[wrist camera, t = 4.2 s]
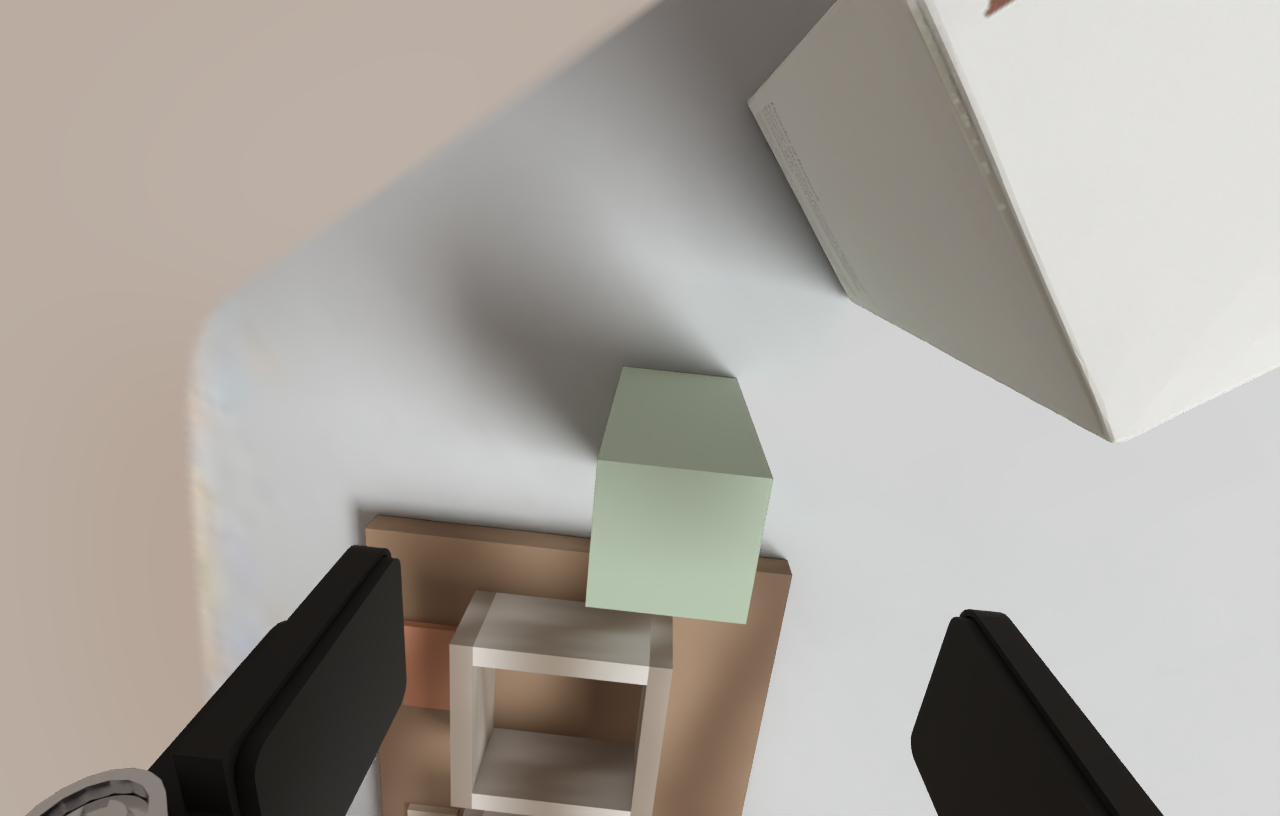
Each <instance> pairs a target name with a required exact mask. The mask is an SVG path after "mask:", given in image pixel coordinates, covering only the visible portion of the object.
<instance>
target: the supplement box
mask: <svg viewBox="0 0 1280 816" xmlns="http://www.w3.org/2000/svg"><path fill="white" fill-rule="evenodd" d="M748 106H749V108H750V110H751V112H752V114H753V115H754V117H755V119H756V121H757V123H758V125H759V127H760V129H761V131H762V133H763V135H764V137H765V139H766V141H767V142H768V144H769V146H770V148H771V150H772V152H773V154H774V155H775V157H776V159H777V161H778V163H779V165H780V167H781V169H782V171H783V172H784V174H785V177H786V179H787V181H788V183H789V185H790V186H791V188H792V190H793V192H794V194H795V196H796V198H797V200H798V201H799V203H800V205H801V207H802V209H803V211H804V213H805V215H806V217H807V219H808V221H809V223H810V225H811V227H812V229H813V231H814V233H815V234H816V236H817V238H818V240H819V242H820V244H821V246H822V248H823V250H824V252H825V254H826V256H827V258H828V260H829V262H830V263H831V265H832V267H833V269H834V271H835V273H836V275H837V277H838V279H839V281H840V283H841V284H842V286H843V288H844V290H845V292H846V293H847V295H848V297H849V299H850V300H851V301H852V302H853V303H855V304H857V305H859V306H861V307H863V308H865V309H867V310H869V311H870V312H872V313H873V314H875V315H877V316H879V317H881V318H883V319H884V320H886V321H888V322H890V323H892V324H894V325H896V326H898V327H900V328H901V329H903V330H905V331H907V332H909V333H910V334H912V335H914V336H916V337H918V338H919V339H921V340H923V341H925V342H927V343H929V344H931V345H932V346H934V347H936V348H938V349H939V350H941V351H943V352H945V353H947V354H948V355H950V356H952V357H954V358H955V359H957V360H959V361H961V362H963V363H965V364H967V365H969V366H970V367H972V368H974V369H976V370H978V371H980V372H982V373H984V374H985V375H987V376H989V377H991V378H993V379H995V380H996V381H998V382H1000V383H1002V384H1004V385H1006V386H1008V387H1010V388H1011V389H1013V390H1015V391H1017V392H1019V393H1021V394H1023V395H1025V396H1026V397H1028V398H1030V399H1031V400H1033V401H1035V402H1037V403H1039V404H1041V405H1043V406H1044V407H1046V408H1048V409H1050V410H1052V411H1054V412H1055V413H1057V414H1059V415H1061V416H1063V417H1065V418H1067V419H1068V420H1070V421H1072V422H1073V423H1075V424H1077V425H1079V426H1081V427H1083V428H1084V429H1086V430H1088V431H1090V432H1092V433H1094V434H1096V435H1098V436H1100V437H1101V438H1103V439H1105V440H1107V441H1109V442H1111V443H1115V444H1120V443H1123V442H1125V441H1127V440H1130V439H1132V438H1134V437H1136V436H1138V435H1140V434H1142V433H1144V432H1146V431H1148V430H1150V429H1152V428H1154V427H1156V426H1158V425H1160V424H1162V423H1164V422H1167V421H1169V420H1171V419H1173V418H1175V417H1177V416H1179V415H1181V414H1183V413H1185V412H1187V411H1189V410H1191V409H1193V408H1195V407H1197V406H1199V405H1201V404H1203V403H1205V402H1207V401H1209V400H1211V399H1214V398H1216V397H1218V396H1220V395H1222V394H1224V393H1226V392H1228V391H1230V390H1232V389H1234V388H1236V387H1238V386H1240V385H1242V384H1244V383H1246V382H1248V381H1250V380H1253V379H1255V378H1257V377H1259V376H1261V375H1263V374H1265V373H1267V372H1269V371H1271V370H1273V369H1275V368H1277V367H1279V366H1280V0H837V1H836V2H835V3H834V4H833V5H832V6H831V8H830V9H829V10H828V11H827V12H826V13H825V14H824V16H823V17H822V18H821V19H820V20H819V21H818V22H817V24H816V25H815V26H814V27H813V28H812V29H811V30H810V31H809V32H808V34H807V35H806V36H805V37H804V38H803V40H802V41H801V42H800V43H799V44H798V45H797V46H796V47H795V48H794V50H793V51H792V52H791V53H790V54H789V55H788V56H787V57H786V59H785V60H784V61H783V62H782V63H781V64H780V65H779V67H778V68H777V69H776V70H775V71H774V72H773V73H772V75H771V76H770V77H769V78H768V79H767V80H766V81H765V82H764V84H763V85H762V86H761V87H760V88H759V89H758V90H757V91H756V93H755V94H754V95H753V96H752V97H751V98H750V99H749V100H748Z"/></svg>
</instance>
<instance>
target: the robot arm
mask: <svg viewBox="0 0 1280 816" xmlns="http://www.w3.org/2000/svg"><path fill="white" fill-rule="evenodd" d="M406 684H407V675H406V656H405V636H404V617H403V597H402V578H401V564H400V560H399V559H397V558H392V557H391V553H390V551H389V550H388V549H387V548H379V547H369V546H359V545H353V546H351V547H350V548H349V549H348V550H347V551H346V552H345V553H344V554H343V555H342V557H341V558H340V559H339V560H338V561H337V562H336V564H335V565H334V566H333V567H332V568H331V569H330V571H329V572H328V573H327V574H326V575H325V576H324V578H323V579H322V580H321V581H320V582H319V583H318V585H317V586H316V587H315V588H314V589H313V590H312V592H311V593H310V594H309V595H308V596H307V597H306V599H305V600H304V601H303V602H302V603H301V604H300V606H299V607H298V608H297V609H296V610H295V611H294V613H293V614H292V615H291V616H290V617H289V618H288V620H287V621H283V622H280V623H278V624H277V625H276V626H275V627H273V628H272V629H271V630H270V631H269V632H268V633H267V635H266V636H265V637H264V638H263V639H262V640H261V641H260V643H259V644H258V645H257V646H256V647H255V648H254V649H253V651H252V652H251V653H250V654H249V655H248V656H247V657H246V659H245V660H244V661H243V662H242V663H241V664H240V665H239V667H238V668H237V669H236V670H235V671H234V672H233V673H232V675H231V676H230V677H229V678H228V679H227V680H226V681H225V683H224V684H223V685H222V686H221V687H220V688H219V689H218V691H217V692H216V693H215V694H214V695H213V696H212V697H211V699H210V700H209V701H208V702H207V703H206V704H205V705H204V707H203V708H202V709H201V710H200V711H199V712H198V714H197V715H196V716H195V717H194V718H193V719H192V720H191V721H190V723H189V724H188V725H187V726H186V727H185V728H184V729H183V731H182V732H181V733H180V734H179V735H178V737H176V739H175V740H174V741H173V742H172V743H171V744H170V746H169V747H168V748H167V749H166V750H165V751H164V752H163V754H162V755H161V756H160V757H159V758H158V759H157V760H156V762H155V763H154V764H153V765H152V766H151V767H150V768H149V770H148V771H146V770H141V769H136V768H127V769H115V770H109V771H106V772H102V773H99V774H96V775H92V776H89V777H86V778H84V779H82V780H80V781H77V782H76V783H73V784H71V785H69V786H67V787H65V788H63V789H61V790H59V791H58V792H56V793H55V794H54V795H52V796H50V797H49V798H48V799H46V800H44V801H43V802H41V803H40V804H38V805H37V806H36V807H35V808H34V809H32V810H31V811H30V812H29V813H28V814H27V815H26V816H345V815H346V813H347V811H348V809H349V807H350V805H351V803H352V801H353V799H354V797H355V795H356V793H357V791H358V789H359V787H360V785H361V783H362V781H363V779H364V777H365V775H366V773H367V771H368V769H369V767H370V766H371V764H372V762H373V760H374V758H375V756H376V754H377V752H378V750H379V748H380V746H381V744H382V742H383V740H384V738H385V736H386V734H387V732H388V730H389V728H390V726H391V724H392V722H393V720H394V718H395V716H396V714H397V712H398V710H399V708H400V706H401V703H402V701H403V698H404V695H405V691H406ZM911 749H912V754H913V757H914V760H915V763H916V765H917V767H918V770H919V772H920V774H921V777H922V779H923V781H924V784H925V786H926V788H927V791H928V793H929V795H930V798H931V800H932V802H933V805H934V807H935V809H936V812H937V814H938V816H1163V814H1162V813H1161V812H1160V811H1159V809H1158V808H1157V807H1156V805H1155V804H1154V803H1153V802H1152V800H1151V799H1150V798H1149V796H1148V795H1147V794H1146V793H1145V791H1144V790H1143V789H1142V787H1141V786H1140V785H1139V784H1138V782H1137V781H1136V780H1135V779H1134V777H1133V776H1132V775H1131V773H1130V772H1129V771H1128V770H1127V768H1126V767H1125V766H1124V764H1123V763H1122V762H1121V761H1120V759H1119V758H1118V757H1117V755H1116V754H1115V753H1114V752H1113V750H1112V749H1111V748H1110V747H1109V745H1108V744H1107V743H1106V741H1105V740H1104V739H1103V738H1102V736H1101V735H1100V734H1099V732H1098V731H1097V730H1096V729H1095V727H1094V726H1093V725H1092V723H1091V722H1090V721H1089V720H1088V718H1087V717H1086V716H1085V715H1084V713H1083V712H1082V711H1081V709H1080V708H1079V707H1078V706H1077V704H1076V703H1075V702H1074V700H1073V699H1072V698H1071V697H1070V695H1069V694H1068V693H1067V691H1066V690H1065V689H1064V688H1063V686H1062V685H1061V684H1060V683H1059V681H1058V680H1057V679H1056V677H1055V676H1054V675H1053V674H1052V672H1051V671H1050V670H1049V668H1048V667H1047V666H1046V665H1045V663H1044V662H1043V661H1042V659H1041V658H1040V657H1039V656H1038V654H1037V653H1036V652H1035V651H1034V649H1033V648H1032V647H1031V645H1030V644H1029V643H1028V642H1027V640H1026V639H1025V638H1024V636H1023V635H1022V634H1021V633H1020V631H1019V630H1018V629H1017V627H1016V626H1015V625H1014V624H1013V622H1012V621H1011V620H1010V619H1009V618H1008V617H1007V616H1006V615H1005V614H1003V613H1000V612H991V611H981V610H972V609H967V610H964V611H963V612H962V613H961V615H960V617H954V618H953V619H951V621H950V623H949V626H948V629H947V632H946V635H945V637H944V640H943V643H942V646H941V649H940V652H939V655H938V658H937V661H936V664H935V667H934V670H933V673H932V676H931V679H930V681H929V684H928V687H927V690H926V693H925V696H924V699H923V702H922V705H921V708H920V711H919V714H918V717H917V720H916V722H915V725H914V728H913V731H912V735H911Z"/></svg>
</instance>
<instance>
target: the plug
mask: <svg viewBox="0 0 1280 816" xmlns="http://www.w3.org/2000/svg"><path fill="white" fill-rule="evenodd" d="M772 483H773V477H772V474H771V471H770V468H769V466H768V463H767V460H766V457H765V455H764V452H763V449H762V446H761V444H760V441H759V438H758V435H757V433H756V430H755V427H754V424H753V422H752V419H751V416H750V413H749V411H748V408H747V405H746V402H745V400H744V397H743V394H742V391H741V389H740V386H739V383H738V380H737V378H728V377H719V376H709V375H700V374H691V373H681V372H672V371H662V370H653V369H644V368H634V367H625V366H623V368H622V371H621V375H620V378H619V382H618V386H617V389H616V393H615V397H614V400H613V404H612V407H611V411H610V415H609V418H608V422H607V426H606V429H605V433H604V437H603V440H602V444H601V447H600V451H599V455H598V458H597V467H596V480H595V492H594V504H593V517H592V529H591V542H590V554H589V567H588V579H587V592H586V604H585V607H594V608H603V609H612V610H621V611H630V612H639V613H648V614H657V615H666V616H675V617H684V618H693V619H702V620H711V621H720V622H729V623H738V624H746V621H747V616H748V611H749V605H750V600H751V595H752V589H753V584H754V579H755V573H756V568H757V563H758V557H759V552H760V547H761V541H762V536H763V531H764V525H765V520H766V515H767V509H768V504H769V499H770V493H771V488H772Z"/></svg>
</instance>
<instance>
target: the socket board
mask: <svg viewBox="0 0 1280 816" xmlns="http://www.w3.org/2000/svg"><path fill="white" fill-rule="evenodd" d="M365 536H366V546H369V547H379V548H387V549H388V550H389V551H390V553H391V557H392V558H397V559H399V560H400V564H401V578H402V597H403V617H404V636H405V656H406V675H407V684H406V691H405V695H404V698H403V701H402V703H401V706H400V708H399V710H398V712H397V714H396V716H395V718H394V720H393V722H392V724H391V726H390V728H389V730H388V732H387V734H386V736H385V738H384V740H383V742H382V744H381V746H380V748H379V750H378V751H379V767H380V784H381V800H382V816H741V815H742V810H743V805H744V801H745V796H746V791H747V787H748V782H749V777H750V772H751V768H752V763H753V758H754V753H755V749H756V744H757V739H758V734H759V730H760V725H761V720H762V716H763V711H764V706H765V701H766V697H767V692H768V687H769V682H770V678H771V673H772V668H773V664H774V659H775V654H776V649H777V645H778V640H779V635H780V630H781V626H782V621H783V616H784V611H785V607H786V602H787V597H788V593H789V588H790V583H791V578H792V573H791V570H790V567H789V564H788V561H787V560H782V559H773V558H763V557H758V563H757V568H756V573H755V579H754V584H753V589H752V595H751V600H750V605H749V611H748V616H747V621H746V624H738V623H729V622H720V621H711V620H702V619H693V618H684V617H675V616H666V615H657V614H648V613H639V612H630V611H621V610H612V609H603V608H594V607H585V604H586V592H587V579H588V567H589V554H590V542H591V539H590V538H581V537H572V536H563V535H554V534H545V533H536V532H527V531H518V530H508V529H499V528H490V527H481V526H472V525H463V524H454V523H445V522H436V521H426V520H417V519H408V518H399V517H390V516H381V515H377V516H376V517H375V518H374V519H373V520H372V521H371V522H370V523H369V525H368V526H367V527H366V528H365Z"/></svg>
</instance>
